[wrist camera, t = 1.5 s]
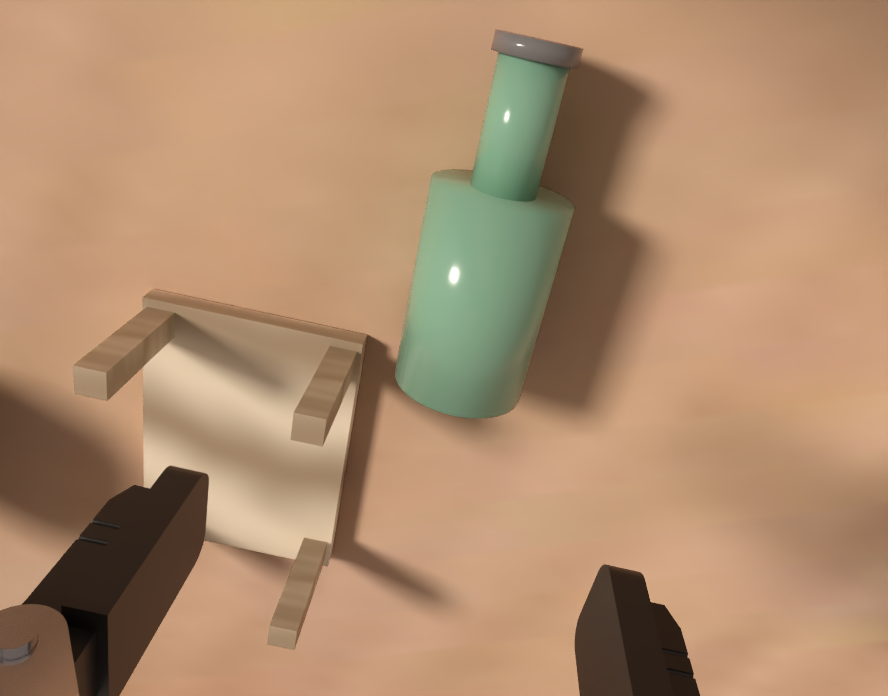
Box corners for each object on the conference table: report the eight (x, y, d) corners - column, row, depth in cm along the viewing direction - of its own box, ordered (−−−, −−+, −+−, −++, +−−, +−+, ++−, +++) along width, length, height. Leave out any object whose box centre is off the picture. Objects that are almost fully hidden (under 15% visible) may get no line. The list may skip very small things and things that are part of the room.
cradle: (153, 288, 29) (66, 354, 24) (367, 334, 30) (333, 411, 24) (153, 514, 35) (83, 612, 29) (332, 552, 35) (297, 657, 29)
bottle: (450, 18, 23) (475, 26, 19) (588, 48, 24) (643, 63, 20) (391, 345, 29) (399, 411, 25) (504, 358, 30) (533, 424, 26)
